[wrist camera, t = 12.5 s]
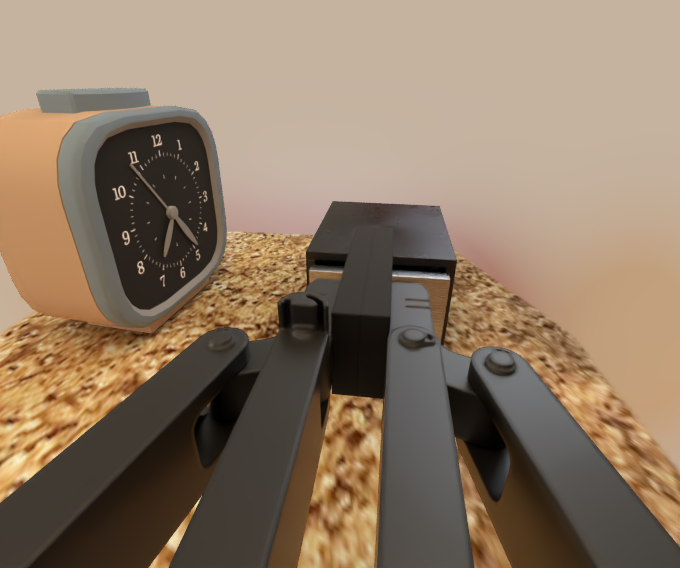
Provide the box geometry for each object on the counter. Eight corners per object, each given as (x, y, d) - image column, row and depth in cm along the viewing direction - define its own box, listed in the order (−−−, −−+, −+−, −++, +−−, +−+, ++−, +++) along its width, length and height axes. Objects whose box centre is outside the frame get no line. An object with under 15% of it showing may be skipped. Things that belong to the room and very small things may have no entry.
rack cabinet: (442, 354, 37) (457, 260, 32) (308, 343, 38) (305, 251, 34) (430, 279, 50) (439, 205, 46) (332, 272, 52) (332, 201, 47)
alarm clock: (130, 363, 35) (49, 94, 25) (41, 348, 37) (-68, 92, 27) (234, 267, 53) (211, 88, 43) (170, 260, 55) (134, 86, 45)
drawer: (443, 392, 31) (457, 307, 27) (300, 378, 32) (296, 295, 29) (427, 283, 47) (435, 220, 44) (334, 276, 49) (334, 215, 45)
